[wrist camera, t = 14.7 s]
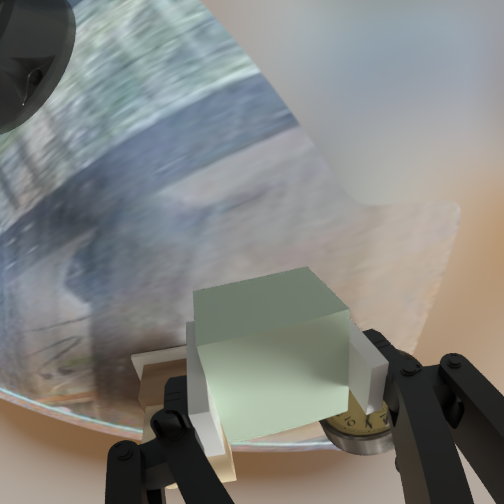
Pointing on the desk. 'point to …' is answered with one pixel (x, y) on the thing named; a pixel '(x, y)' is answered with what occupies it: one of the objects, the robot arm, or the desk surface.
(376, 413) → the alarm clock
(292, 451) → the desk surface
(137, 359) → the mat
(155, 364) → the walnut brick
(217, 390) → the sage brick
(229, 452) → the maple brick
